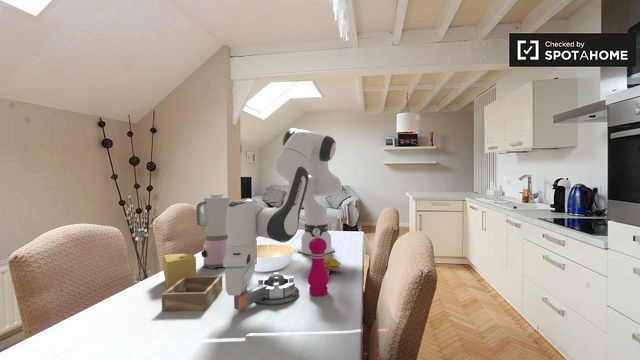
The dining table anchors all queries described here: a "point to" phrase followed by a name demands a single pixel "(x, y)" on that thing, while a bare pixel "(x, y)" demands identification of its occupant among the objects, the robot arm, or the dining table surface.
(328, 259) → the decorative flower
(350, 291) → the dining table surface
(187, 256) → the cheese
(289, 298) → the domed metal lid
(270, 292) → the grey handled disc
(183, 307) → the square wooden frame
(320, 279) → the pepper mill
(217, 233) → the blender
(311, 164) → the robot arm
